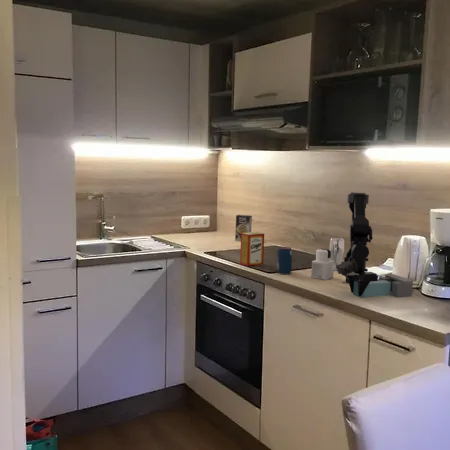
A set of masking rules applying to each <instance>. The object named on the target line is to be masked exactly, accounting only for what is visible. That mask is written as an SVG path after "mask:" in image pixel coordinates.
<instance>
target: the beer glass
mask: <svg viewBox="0 0 450 450" xmlns="http://www.w3.org/2000/svg"><path fill="white" fill-rule="evenodd" d="M329 250H330V251H331V259H330V260H332V261H334V272H335V271H337V272H338V270H337V265H339V264H341V263H343V258H344V252H345V239H344V238H340V237H331V238H330V241H329Z"/></svg>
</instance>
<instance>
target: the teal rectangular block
mask: <svg viewBox="0 0 450 450" xmlns="http://www.w3.org/2000/svg"><path fill="white" fill-rule="evenodd" d="M390 287H391V282H388V281H385V280H379V279H378V281H372V282H370V283H369V284H368V286H367V287H366V289H365V291H364V292H363V294H362V296H359V295H358V282H357V281H354V290H353V293H352V294H353V296H354V295H355V296H356V297H359V298H364V297H379V296H391V292H390Z"/></svg>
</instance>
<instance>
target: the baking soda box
mask: <svg viewBox="0 0 450 450" xmlns="http://www.w3.org/2000/svg"><path fill="white" fill-rule="evenodd" d="M264 248H265V233H263V232H259V231H251V232H249V233H241V241H240V256H239V257H240V258H239V259H240V260H239V261H240V263H239V264H240V265H241V266H245V265H246V266H245V267H252V266H251V265H256V266H261V265H260V264H263V265H264V256H265V254H264V252H265V249H264Z"/></svg>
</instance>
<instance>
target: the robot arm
mask: <svg viewBox="0 0 450 450" xmlns="http://www.w3.org/2000/svg"><path fill="white" fill-rule="evenodd" d="M369 198H370V196H369V194H366V192H350V193H348V194H347V198H346V199H347V201H346V203H347V204H348V208H349V210H350V212H351V224H350V225H349V242H350V245H349V247H348V249H347V251H346V253H345V256H343V261H342V262H341V264H339V265H337V270H338V271H337V272H338V273H337V274H338V275H342V276H344V277H345V281H342V284H348V285H349V289H350V292H351V294H353V290H354V281H357V282H358V295H359V296H362V294H363V292H364V291H365V289H366V287H367V286H368V284H369V283H370V282H372V281H378V280H379V275H378V274H377V273H375V272H373V271H369V270H368V268H366V267H367V266H366V265H367V262H368V261H369V255H370V250H369V247H368V243H371V241H372V240H373V228H372V226H371V225H370V220H369V219H368V218H366V208H367V205H368V204H369Z"/></svg>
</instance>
